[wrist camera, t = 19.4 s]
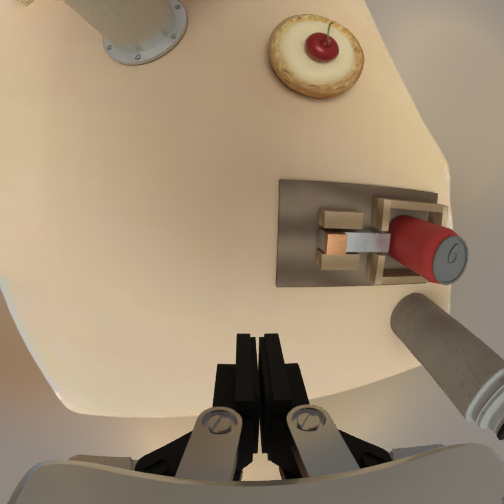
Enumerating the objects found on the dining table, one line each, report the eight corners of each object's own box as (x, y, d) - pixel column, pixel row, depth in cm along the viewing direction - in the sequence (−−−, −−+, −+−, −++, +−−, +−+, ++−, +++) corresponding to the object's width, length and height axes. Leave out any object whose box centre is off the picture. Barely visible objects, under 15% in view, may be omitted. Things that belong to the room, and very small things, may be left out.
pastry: (260, 92, 33) (261, 69, 25) (274, 21, 30) (279, -12, 22) (348, 112, 34) (373, 98, 25) (357, 42, 31) (380, 16, 22)
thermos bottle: (421, 334, 43) (515, 437, 16) (385, 337, 43) (476, 461, 16) (434, 292, 41) (549, 385, 14) (396, 293, 41) (517, 406, 14)
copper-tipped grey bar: (318, 227, 36) (328, 234, 32) (380, 229, 37) (395, 236, 32) (317, 245, 37) (326, 254, 33) (378, 246, 37) (393, 255, 33)
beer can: (425, 224, 37) (478, 243, 25) (409, 265, 38) (457, 295, 27) (392, 207, 36) (444, 222, 25) (375, 251, 38) (421, 280, 26)
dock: (279, 179, 36) (284, 180, 32) (434, 192, 37) (451, 195, 32) (275, 284, 39) (279, 297, 35) (422, 280, 40) (437, 291, 36)
